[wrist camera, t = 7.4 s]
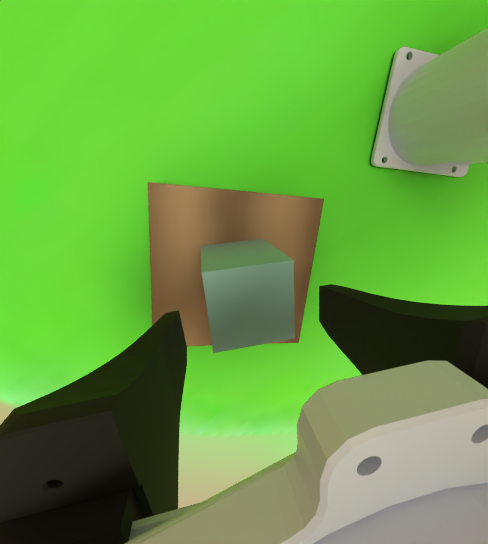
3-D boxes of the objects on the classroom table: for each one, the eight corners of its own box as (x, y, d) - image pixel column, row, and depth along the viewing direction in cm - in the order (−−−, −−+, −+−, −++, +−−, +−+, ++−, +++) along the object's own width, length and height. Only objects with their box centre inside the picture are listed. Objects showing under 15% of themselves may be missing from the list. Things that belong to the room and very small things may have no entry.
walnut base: (306, 198, 20) (323, 198, 17) (286, 324, 24) (298, 342, 21) (155, 183, 18) (147, 182, 15) (159, 326, 21) (153, 346, 19)
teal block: (263, 238, 17) (293, 260, 12) (266, 295, 19) (294, 338, 13) (200, 245, 17) (201, 272, 11) (209, 303, 18) (213, 352, 13)
